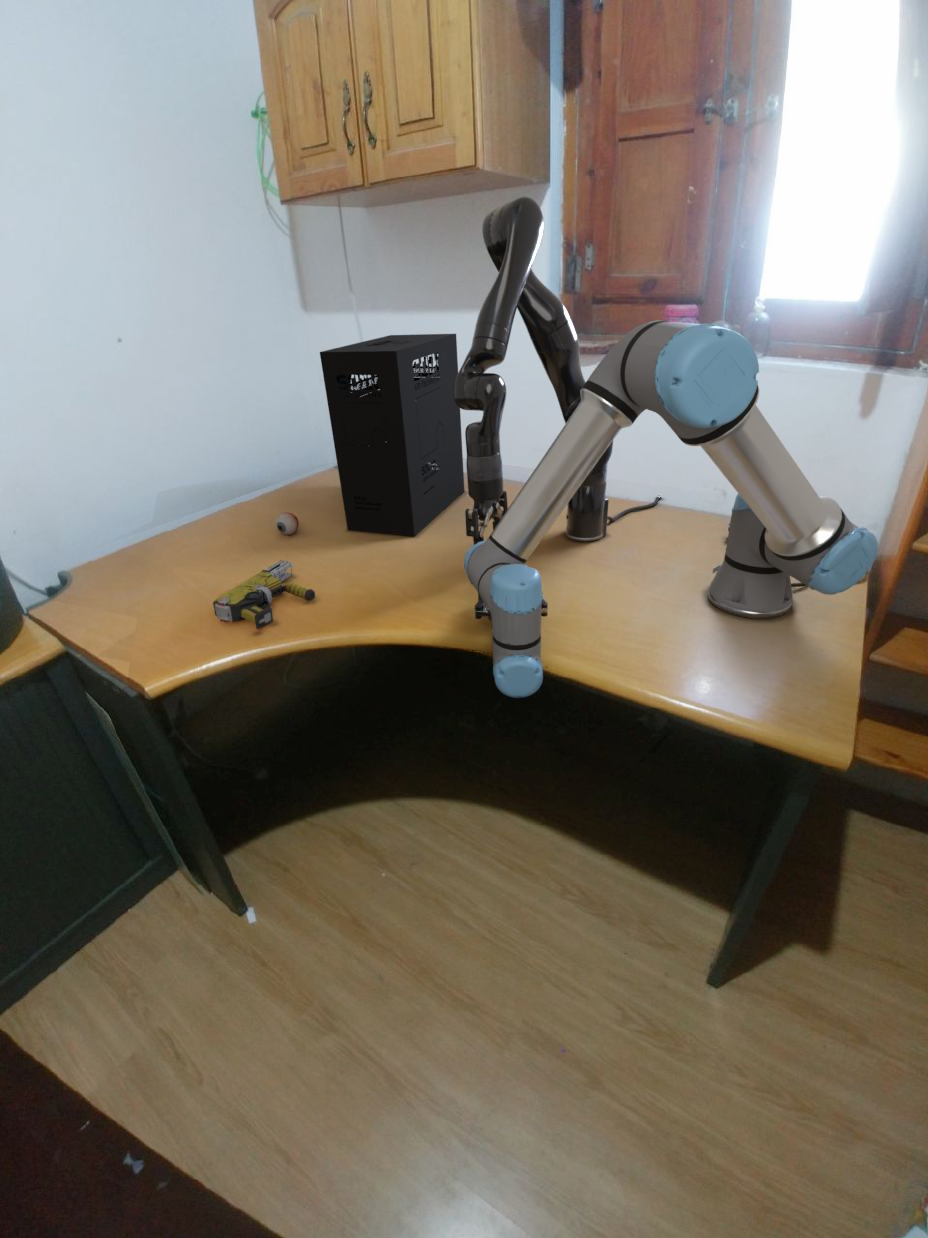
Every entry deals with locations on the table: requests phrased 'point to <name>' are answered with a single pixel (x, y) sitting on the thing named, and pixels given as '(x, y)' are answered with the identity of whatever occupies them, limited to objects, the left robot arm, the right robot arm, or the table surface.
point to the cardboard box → (395, 430)
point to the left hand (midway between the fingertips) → (489, 544)
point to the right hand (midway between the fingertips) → (506, 571)
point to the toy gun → (258, 596)
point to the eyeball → (287, 523)
